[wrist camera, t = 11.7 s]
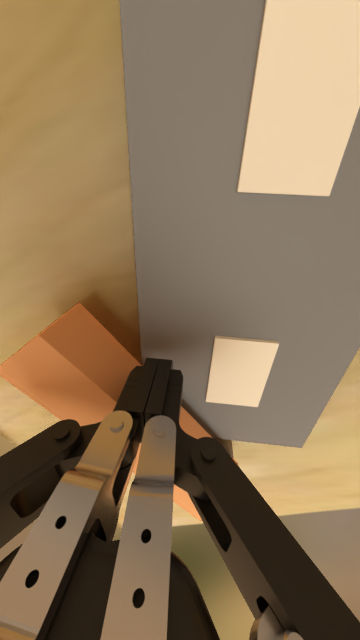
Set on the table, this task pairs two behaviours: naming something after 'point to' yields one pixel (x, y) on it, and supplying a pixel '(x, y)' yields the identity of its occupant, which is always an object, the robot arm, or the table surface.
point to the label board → (246, 204)
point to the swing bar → (82, 376)
